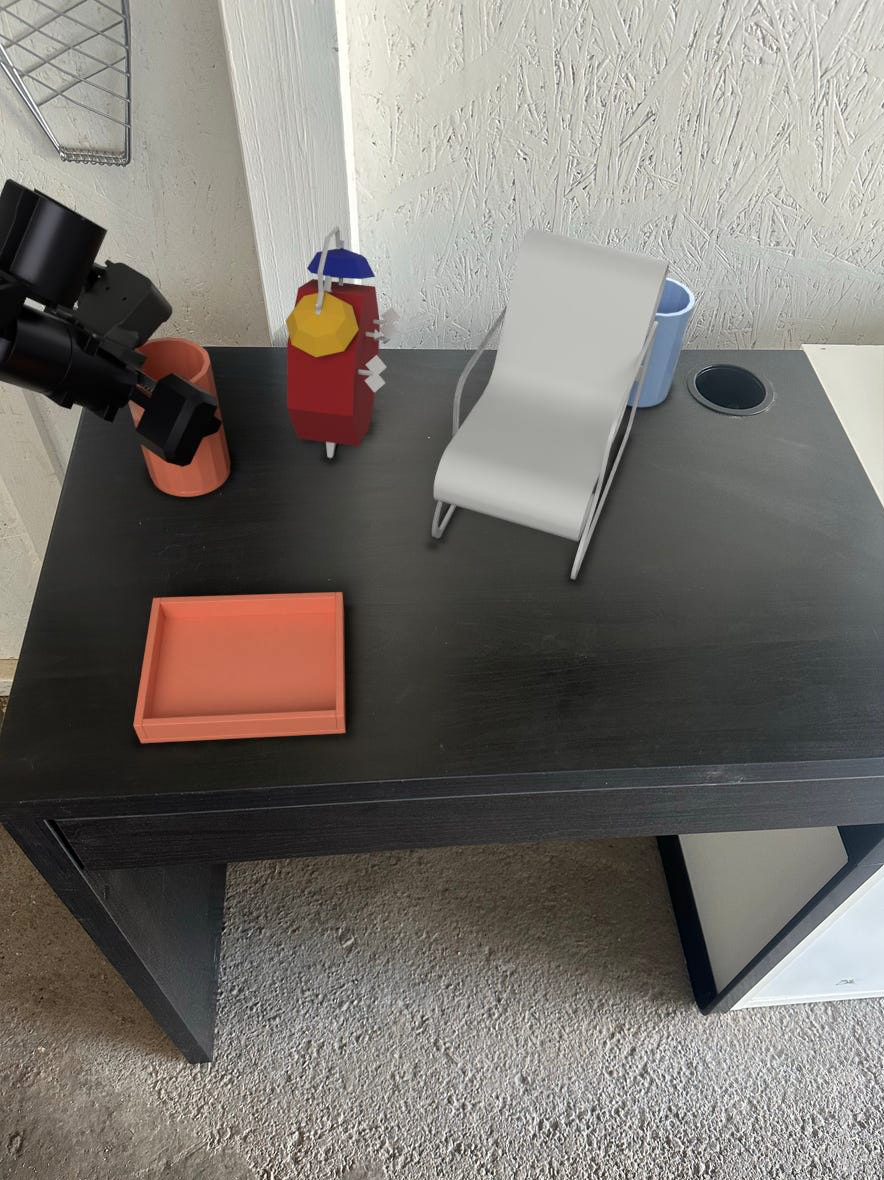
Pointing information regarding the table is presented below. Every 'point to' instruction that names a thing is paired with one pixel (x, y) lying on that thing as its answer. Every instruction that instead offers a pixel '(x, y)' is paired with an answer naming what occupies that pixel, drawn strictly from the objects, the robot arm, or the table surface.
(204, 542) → the table surface
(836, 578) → the table surface
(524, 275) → the chair
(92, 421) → the table surface
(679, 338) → the blue cup
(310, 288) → the alarm clock
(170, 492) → the coral cup
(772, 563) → the table surface
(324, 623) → the coral tray
